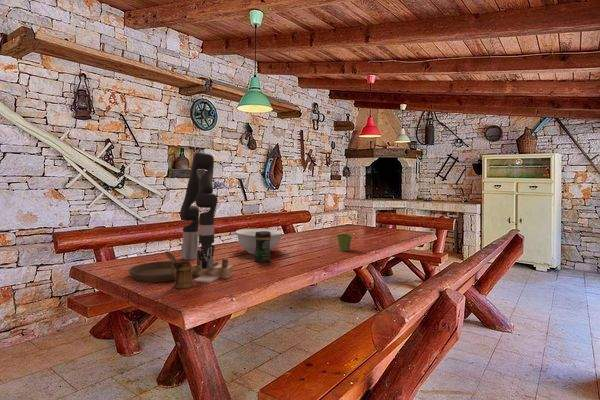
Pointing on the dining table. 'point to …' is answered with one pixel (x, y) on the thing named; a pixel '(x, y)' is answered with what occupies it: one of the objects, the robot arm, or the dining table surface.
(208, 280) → the stone tile
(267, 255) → the coffee jar
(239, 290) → the dining table surface
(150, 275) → the plant saucer
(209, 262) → the lever cap
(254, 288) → the dining table surface
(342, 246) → the plant pot
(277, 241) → the bowl
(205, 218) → the robot arm
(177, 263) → the turkish coffee pot
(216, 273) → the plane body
